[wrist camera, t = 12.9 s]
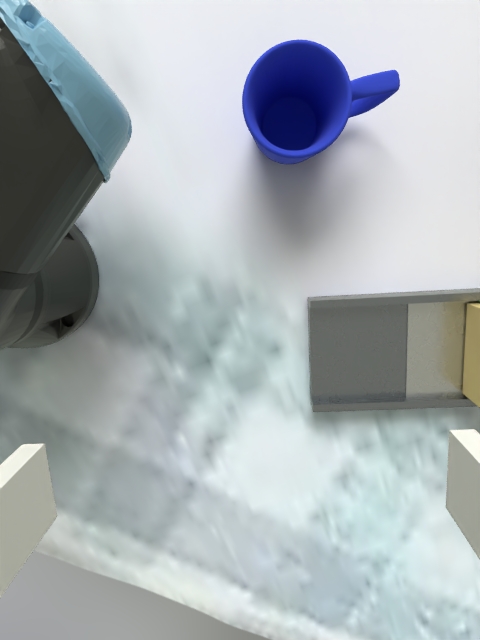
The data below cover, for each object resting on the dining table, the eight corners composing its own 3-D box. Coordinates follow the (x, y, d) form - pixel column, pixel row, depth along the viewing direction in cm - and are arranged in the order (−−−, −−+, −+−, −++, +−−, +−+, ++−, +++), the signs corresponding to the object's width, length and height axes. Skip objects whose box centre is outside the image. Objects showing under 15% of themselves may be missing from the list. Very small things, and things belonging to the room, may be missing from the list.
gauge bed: (310, 403, 48) (313, 412, 46) (307, 297, 46) (310, 300, 44) (563, 394, 47) (578, 402, 44) (575, 283, 44) (591, 286, 42)
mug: (377, 153, 42) (412, 132, 33) (255, 180, 43) (254, 168, 34) (364, 62, 41) (397, 12, 31) (238, 93, 42) (231, 54, 32)
